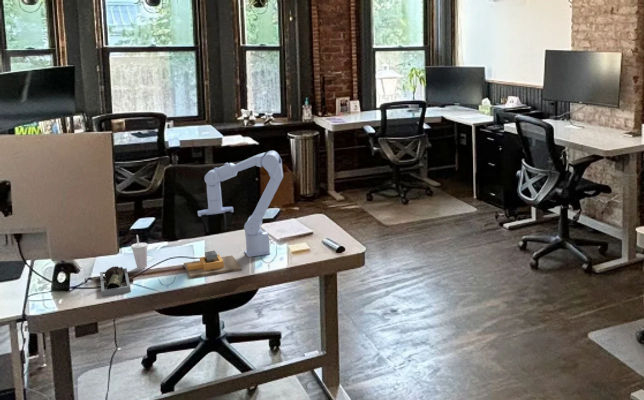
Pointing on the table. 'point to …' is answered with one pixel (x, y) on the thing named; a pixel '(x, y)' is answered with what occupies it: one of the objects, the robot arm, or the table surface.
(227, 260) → the base plate
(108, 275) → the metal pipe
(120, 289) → the pipe rest
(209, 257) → the grey block
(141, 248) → the smoothie
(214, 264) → the bracket collar
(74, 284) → the table surface
